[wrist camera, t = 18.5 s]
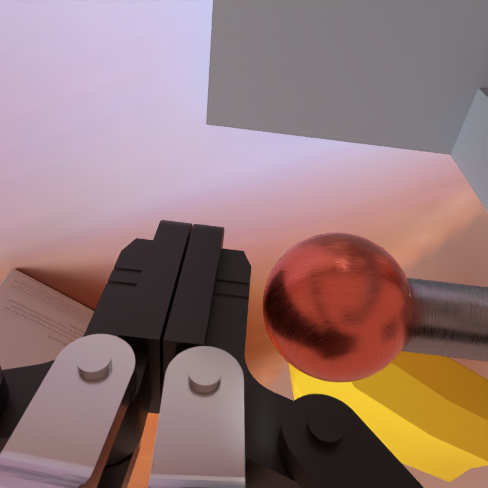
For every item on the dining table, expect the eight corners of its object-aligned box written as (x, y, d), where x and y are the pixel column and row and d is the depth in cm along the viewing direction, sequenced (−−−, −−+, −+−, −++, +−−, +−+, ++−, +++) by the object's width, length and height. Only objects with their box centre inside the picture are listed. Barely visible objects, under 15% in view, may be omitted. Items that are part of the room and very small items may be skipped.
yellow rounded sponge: (331, 263, 28) (254, 329, 32) (343, 351, 22) (249, 416, 26) (514, 383, 33) (429, 425, 37) (558, 475, 28) (454, 513, 32)
